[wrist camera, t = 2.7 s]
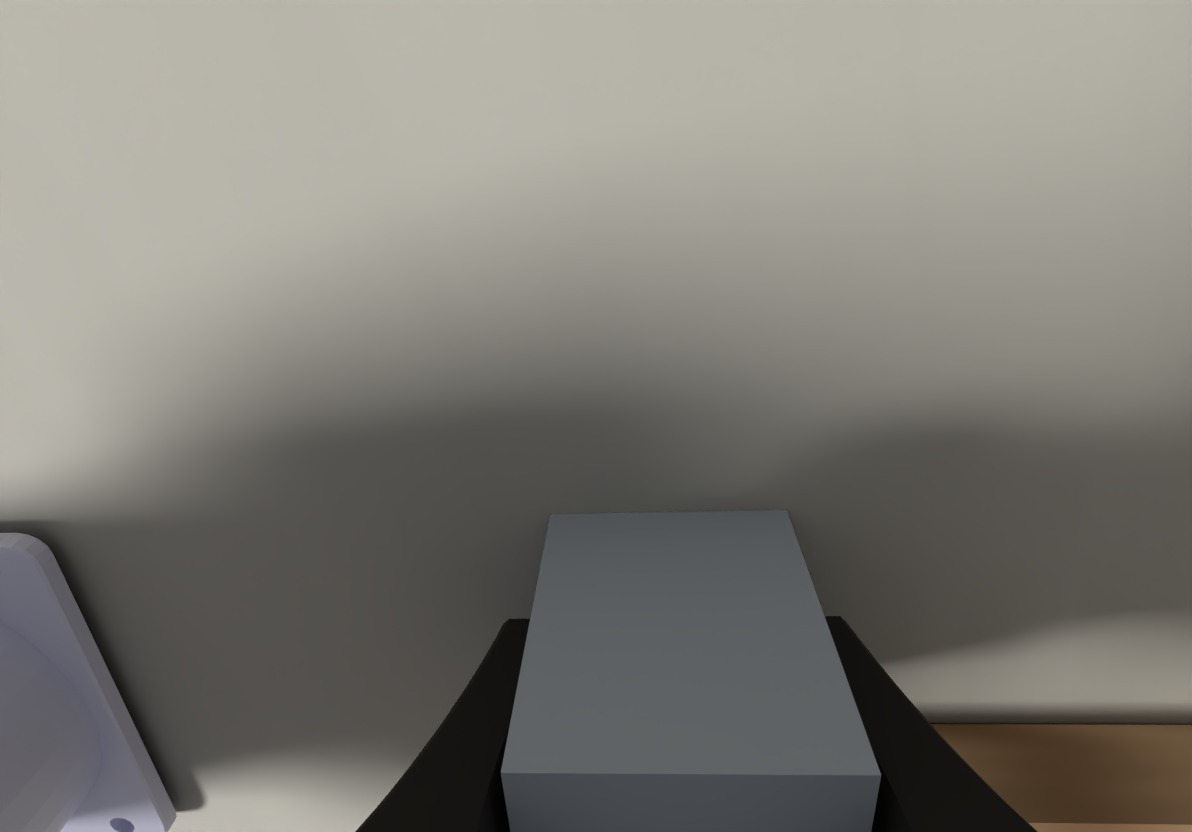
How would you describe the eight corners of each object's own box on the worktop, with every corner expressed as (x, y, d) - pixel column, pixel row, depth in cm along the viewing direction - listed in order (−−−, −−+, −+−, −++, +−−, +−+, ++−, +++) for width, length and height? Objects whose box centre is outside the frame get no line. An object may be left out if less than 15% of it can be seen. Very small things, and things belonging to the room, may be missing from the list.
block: (567, 684, 14) (534, 978, 9) (550, 513, 12) (500, 773, 8) (773, 683, 13) (843, 986, 9) (786, 509, 12) (881, 774, 7)
